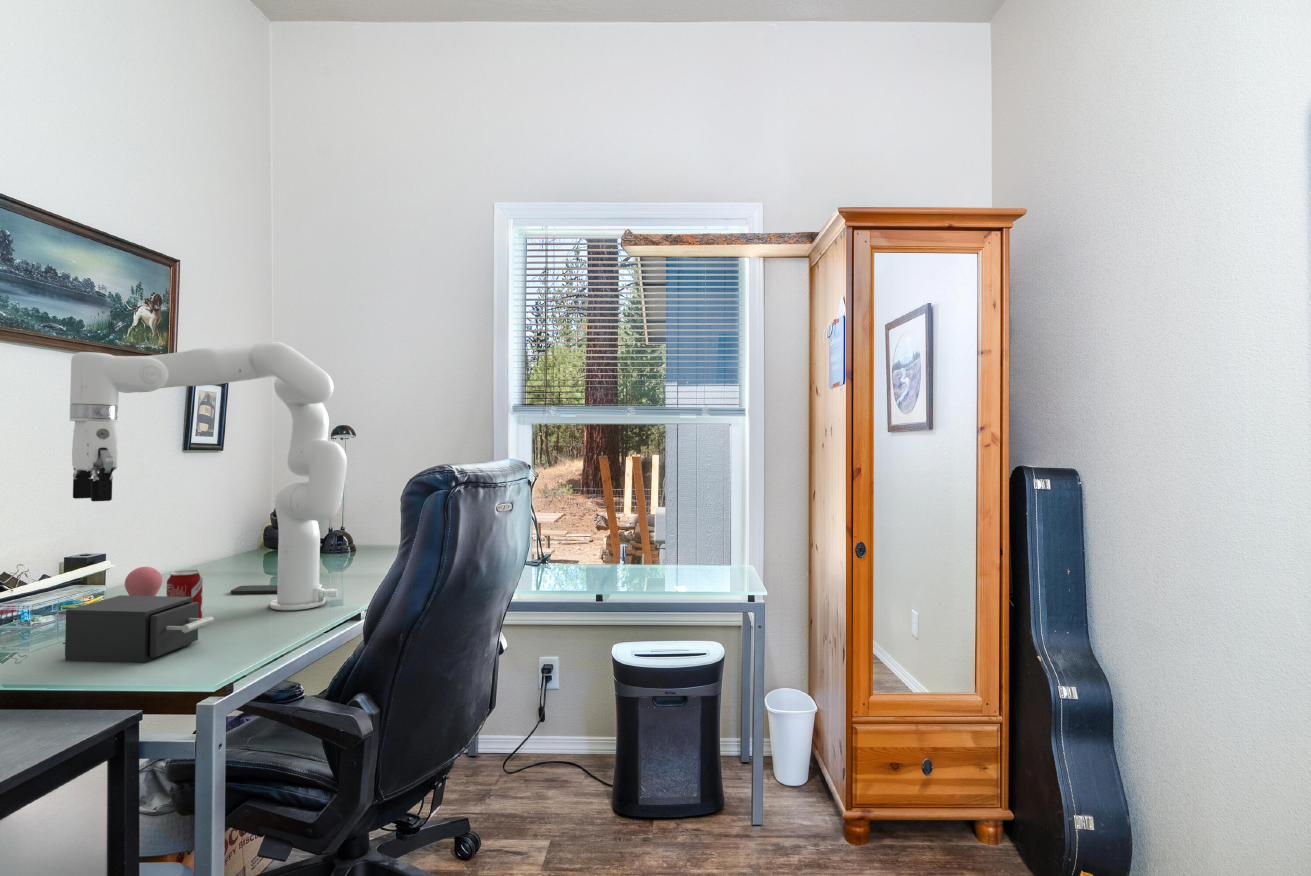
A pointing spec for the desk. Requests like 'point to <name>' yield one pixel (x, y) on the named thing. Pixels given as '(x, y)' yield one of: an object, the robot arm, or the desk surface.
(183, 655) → the desk surface
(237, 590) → the phone
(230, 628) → the desk surface
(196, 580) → the soda can
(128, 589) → the light bulb
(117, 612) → the cabinet
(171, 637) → the drawer
